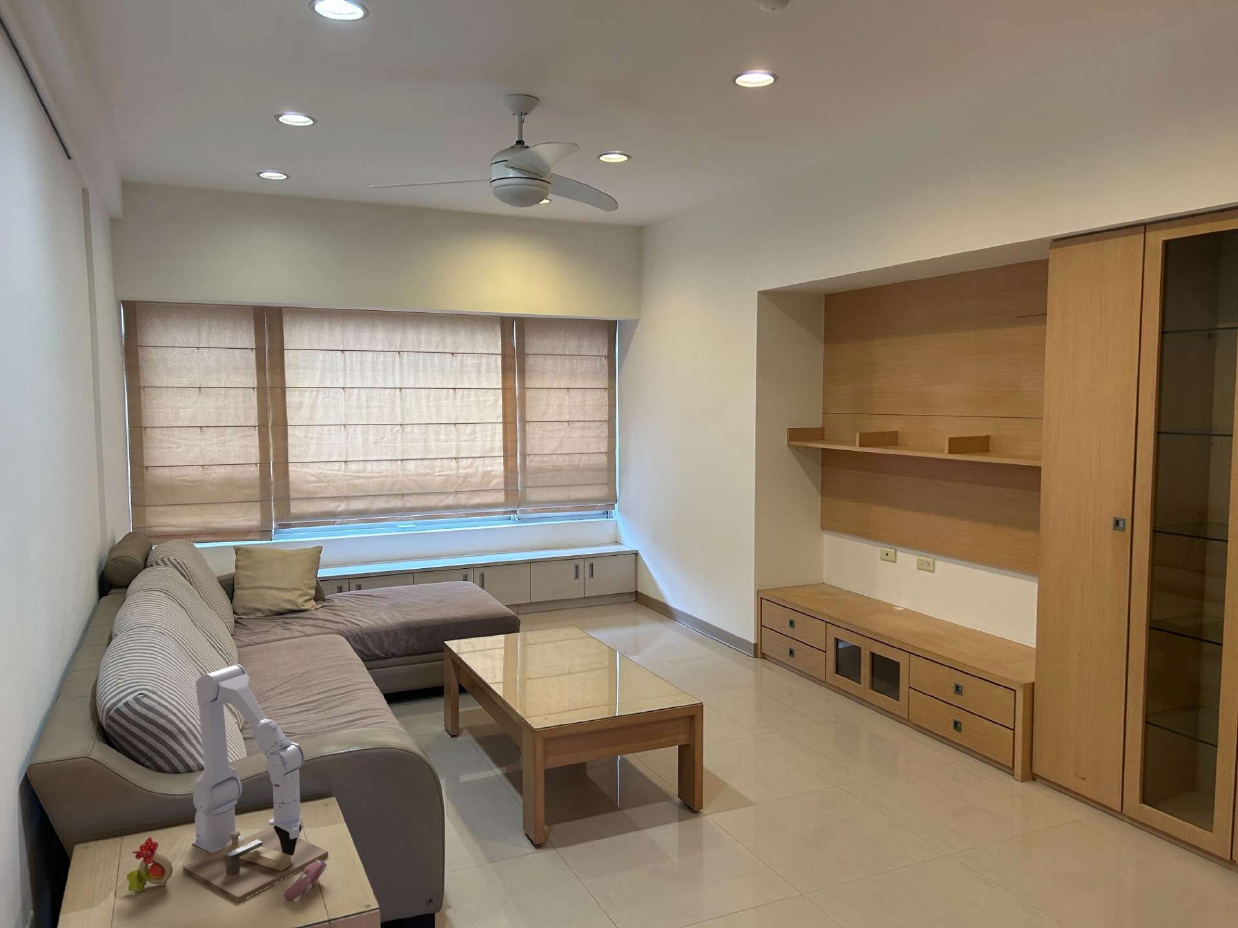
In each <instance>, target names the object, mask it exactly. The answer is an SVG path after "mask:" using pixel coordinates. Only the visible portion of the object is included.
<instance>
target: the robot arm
mask: <svg viewBox="0 0 1238 928" xmlns="http://www.w3.org/2000/svg"><path fill="white" fill-rule="evenodd" d="M250 682H251V679H250V676H249V675H248V673H247V671H246V669H245V668H244V666H243V665H241V664H239V663H234V664H231V665H230V666H226V667H224V668H221V669H218V670H217V669H216V670H215V671H212V672H209V673H207V672H206V673H204V674H201V676H200V677H199V678H198V679H197V680H196V681H195V688H196V700H197V706H198V712H199V722H200V734H201V745H202V746H201V747H202V757H203V768H204V769H203V772H202V773H200V775H199V776H198V778H197V779H196V780H195V782H194V793H193V795H192V796H193V797H192V802H193V806H194V807H195V809H196V813H195V816H194V826H195V827H194V828H195V840H193V841H192V844H193V845H195V846H197V847H199V848H201V849H203V850H204V851H206V852H209V853H210V854H212V853H214V852H216V851H218V850H220V849H223V848H225V847H226V844H227V843H228V842H230V841H232V838H231V837H230V833H232V832H234V831H237V830H236V812H235V811H236V810H235V809H236V807H235V805H237V804H238V799H239V798H240V797H241V795H242V792H243V790H242V789H243V785H242V782H241V780H240V778H239V777H240V776H239V773H238V772H239V771H238V770H236V769H235V768H234V767H231V766H229V756H228V753H229V752H228V745H227V741H228V740H227V732H226V720H225V709H224V704H232V705H233V706H234V707H235V708H236V710H238V712H239V713H240V714H241V715H242V717H243V718H244V719H245V720H246V721H247V723H248V724H249V725H250V726H251V727H252V732H251V737H252V739H253V740H254V742H255V743H256V744H257V746H258V747H259V748H260V750H261V751H262V753H263V754H264V756H265V758H266V759H267V761H266V762H265V767H266V769H267V771H268V773H269V777H270V779H269V780H270V783H271V784H272V794H273V795H272V797H273V798H272V799H273V800H272V801H273V818H271V819H268V825H269V827H271V826H274V827H273V828H274V830H275V832H276V834H277V835H278V837H279V841H280V844H281V849H282V852H283V853H285V854H288V855H291V856H292V855H294V852H295V847H296V842H297V838H300V834H301V831H302V829H303V827H302V824H301V821H302V813H301V795H300V794H301V793H300V791H301V790H300V767H302V766H303V764H304V762H305V753H304V751H303V749H302V747H301V746H300V745H299V744H298V743H297V742H293V740H291V739H288V738H287V736H286V735H285V733H284V732H283V731H282V729H281V728H280V727H279V724H277V722H276V720H275V719H270V718H267V717H266V715H265V713H264V710H263V709H262V708H261V706H260V704H259V703H258V701H257V699H256V697H255V695H254V693H253V692H252V691H251V689H250ZM238 839H244V837H242V836H238Z"/></svg>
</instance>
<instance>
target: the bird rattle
mask: <svg viewBox="0 0 1238 928" xmlns="http://www.w3.org/2000/svg"><path fill="white" fill-rule="evenodd" d="M158 847H159V843H158V842H157V841H153V837H152V836H149V837H148V838H147V839H146V840H145V842H144V843H143V844H140V845H139V850H134V851H132V854H135V856H134V858H135V859H136V860H140V859H141V861H140V863H139V869H134V870H132V871H130V872H128V873H127V875H126V879H127V881H128V882H129V883H128V891H130V892H131V891H133V890H135V889H136V891H138V893H141V892H143V891H144V889H145V888H144V887H145V886H144V884H146V883H147V882H148V883H149V884H152V885H156V886H157V885H158V886H160V887H165V886H166V885H167V882H168V881H169V880H170V879H171V877H172V875H173V871H174V870H173V869H174V868H173V864H172V862H171V861H170V860H169V858H168V857H166V856H165V855H163V854H160V853H157V850H158Z"/></svg>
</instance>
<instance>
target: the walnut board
mask: <svg viewBox="0 0 1238 928" xmlns="http://www.w3.org/2000/svg"><path fill="white" fill-rule="evenodd" d="M274 826H275V825H273V826H268V827H267V828H265V829H262V830H260V831H258V832H256V833H253V834H252V835H250V836H247V837H245V838H243V839H242V840H244V841H245V842H247V843H250V842H252V841H254V840H257V839H258V840H260V841H262V846H261V847H264V848H268V849H271V850H275V851H278V852H281V853H283V852H282V849H281V844H280V841H279V837H278V835H277V834H276V832H275V830H274V828H273V827H274ZM326 858H329V851H328V850H326V849H324V848H322V847H319V846H317V845H315V844H313V843H311V842H308V841H306V840H304V839H302V838H300V837H298V838H297V842H296V847H295V852H294V855H292V856H291V865H290V866H288V867H287V868H285V869H284V870H282V871H280V870H276V869H273V868H270V867H266V866H263V865H260V864H257V863H253V862H250V861H247V860H244V859H240V858H239V863H240V872H239V873H237V874H235V875H233V876H231V875H229V874H227V872H226V847H225V848H223V849H220V850H218V851H216V852H214V853H210V854H208V855H205V856H203V857H201V858H198V859H196V860H195V861H192V862H190V863H188V864H185V865H183V866H182V872H183V873H185V874H187V875H189V876H190V877H192V878H193V879H195V880H197V881H199V882H200V883H203V884H204V885H205V886H208V887H210V888H212V889H213V890H215V891H217V892H219V893H220V892H221V893H220V894H222V895H224V894H225V895H224V896H226V895H227V896H226V897H227V898H229V897H230V899H232V900H233V899H234V900H233V901H235V902H237V903H241V902H242V901H245V900H246V898H247V897H249V896H251V895H252V896H254V895H256V894H257V893H256V892H258V893H260V892H261V891H260V890H262V889H264V888H266V887H268V886H270V887H271V885H272V886H274V885H275V884H274V883H276V882H277V881H280V880H281V879H283V880H285V879H286V878H285V877H287V878H289V877H290V876H289V875H291V874H293V875H295V874H296V873H295V872H297V873H299V872H300V871H299V870H301V871H303V870H304V868H305V867H306V866H308V865H309V864H312V863H314V862H315V861H316V860H317V859H318V861H323V859H326ZM302 869H303V870H302ZM298 871H299V872H298ZM294 873H295V874H294ZM288 876H289V877H288ZM291 876H292V875H291ZM284 878H285V879H284ZM281 881H282V880H281ZM281 881H280V882H281ZM273 884H274V885H273ZM276 884H277V883H276ZM268 888H269V887H268ZM266 889H267V888H266ZM264 890H265V889H264ZM259 891H260V892H259ZM262 891H263V890H262ZM255 893H256V894H255ZM253 894H254V895H253ZM252 896H251V897H252ZM249 898H250V897H249ZM247 899H248V898H247Z"/></svg>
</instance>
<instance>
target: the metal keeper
mask: <svg viewBox="0 0 1238 928" xmlns="http://www.w3.org/2000/svg"><path fill="white" fill-rule="evenodd" d="M261 846H262V841H260V840H258V839H257V840H254V841H252V842H250V843H248V844H246V845H244V846H241V847H239V848H237V849H235V850H233V851H231V852H229V853H226V872H227V874H229V875H231V876H233V875H235V874H237V873H239V872H240V863H239V857H240V856H242V855H244V854H246V853H248V852H250V851H253V850H255V849H257V848H259V847H261Z"/></svg>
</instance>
